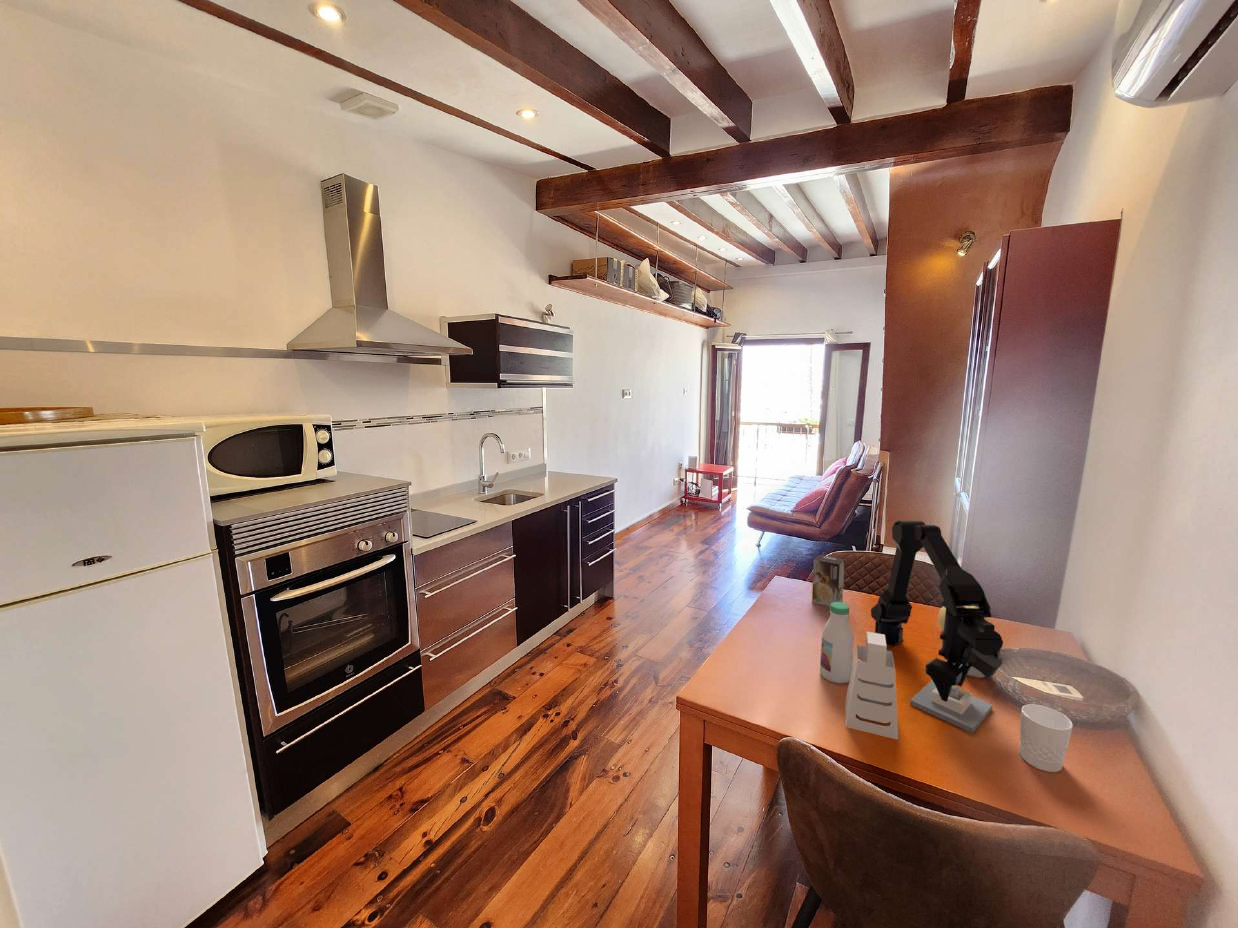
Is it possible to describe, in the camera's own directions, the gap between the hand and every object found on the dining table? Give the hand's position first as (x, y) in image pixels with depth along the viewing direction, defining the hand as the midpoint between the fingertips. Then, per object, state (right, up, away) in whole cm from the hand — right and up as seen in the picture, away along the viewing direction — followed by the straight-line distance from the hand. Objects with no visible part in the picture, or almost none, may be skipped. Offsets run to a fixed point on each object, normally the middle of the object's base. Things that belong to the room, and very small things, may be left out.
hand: (951, 692), depth 119 cm
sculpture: (+25, +2, +33) cm, 42 cm away
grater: (-21, -5, -3) cm, 22 cm away
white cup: (+7, -6, -16) cm, 19 cm away
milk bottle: (-22, -2, +14) cm, 26 cm away
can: (+15, -1, +15) cm, 21 cm away
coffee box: (-6, +5, +58) cm, 58 cm away
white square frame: (0, -2, 0) cm, 2 cm away
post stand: (0, -4, +1) cm, 4 cm away
